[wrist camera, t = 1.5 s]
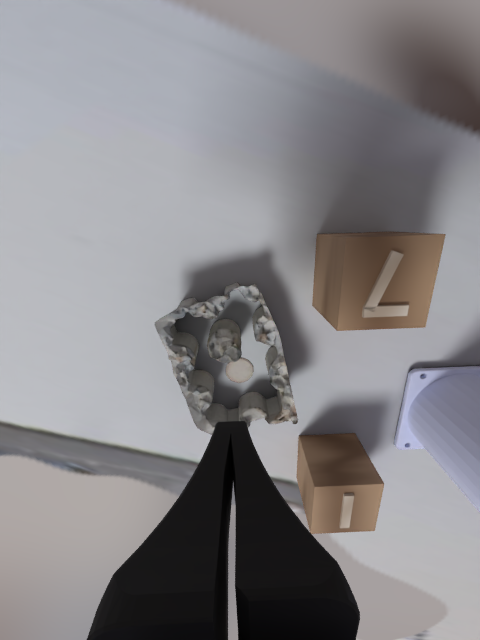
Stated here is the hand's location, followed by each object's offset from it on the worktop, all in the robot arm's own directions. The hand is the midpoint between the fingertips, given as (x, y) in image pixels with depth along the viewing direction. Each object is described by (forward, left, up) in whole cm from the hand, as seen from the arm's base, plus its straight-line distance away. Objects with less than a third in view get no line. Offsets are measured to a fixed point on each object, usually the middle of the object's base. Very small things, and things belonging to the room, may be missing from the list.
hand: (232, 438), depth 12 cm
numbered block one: (-8, +11, -9) cm, 16 cm away
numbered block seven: (-9, -6, -9) cm, 14 cm away
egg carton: (0, 0, -9) cm, 9 cm away
